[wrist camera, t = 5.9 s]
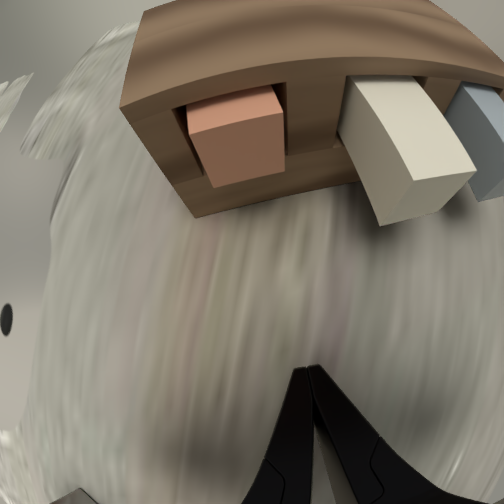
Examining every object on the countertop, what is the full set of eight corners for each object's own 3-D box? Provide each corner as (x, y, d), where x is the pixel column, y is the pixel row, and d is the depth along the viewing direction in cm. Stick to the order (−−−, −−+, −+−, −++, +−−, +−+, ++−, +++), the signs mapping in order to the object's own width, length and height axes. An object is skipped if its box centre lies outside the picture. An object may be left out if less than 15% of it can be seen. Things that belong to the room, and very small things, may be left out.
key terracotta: (284, 171, 13) (283, 112, 9) (213, 188, 13) (189, 134, 9) (257, 95, 15) (249, 42, 11) (200, 108, 15) (182, 58, 11)
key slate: (507, 194, 11) (542, 162, 7) (477, 202, 11) (516, 165, 8) (464, 119, 13) (487, 82, 9) (431, 119, 13) (453, 75, 9)
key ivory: (436, 212, 11) (477, 170, 8) (379, 226, 12) (413, 180, 8) (388, 121, 13) (407, 71, 10) (335, 127, 13) (345, 70, 10)
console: (462, 164, 17) (521, 82, 7) (195, 218, 18) (119, 107, 8) (398, 73, 21) (420, -6, 11) (182, 103, 22) (144, 11, 12)
